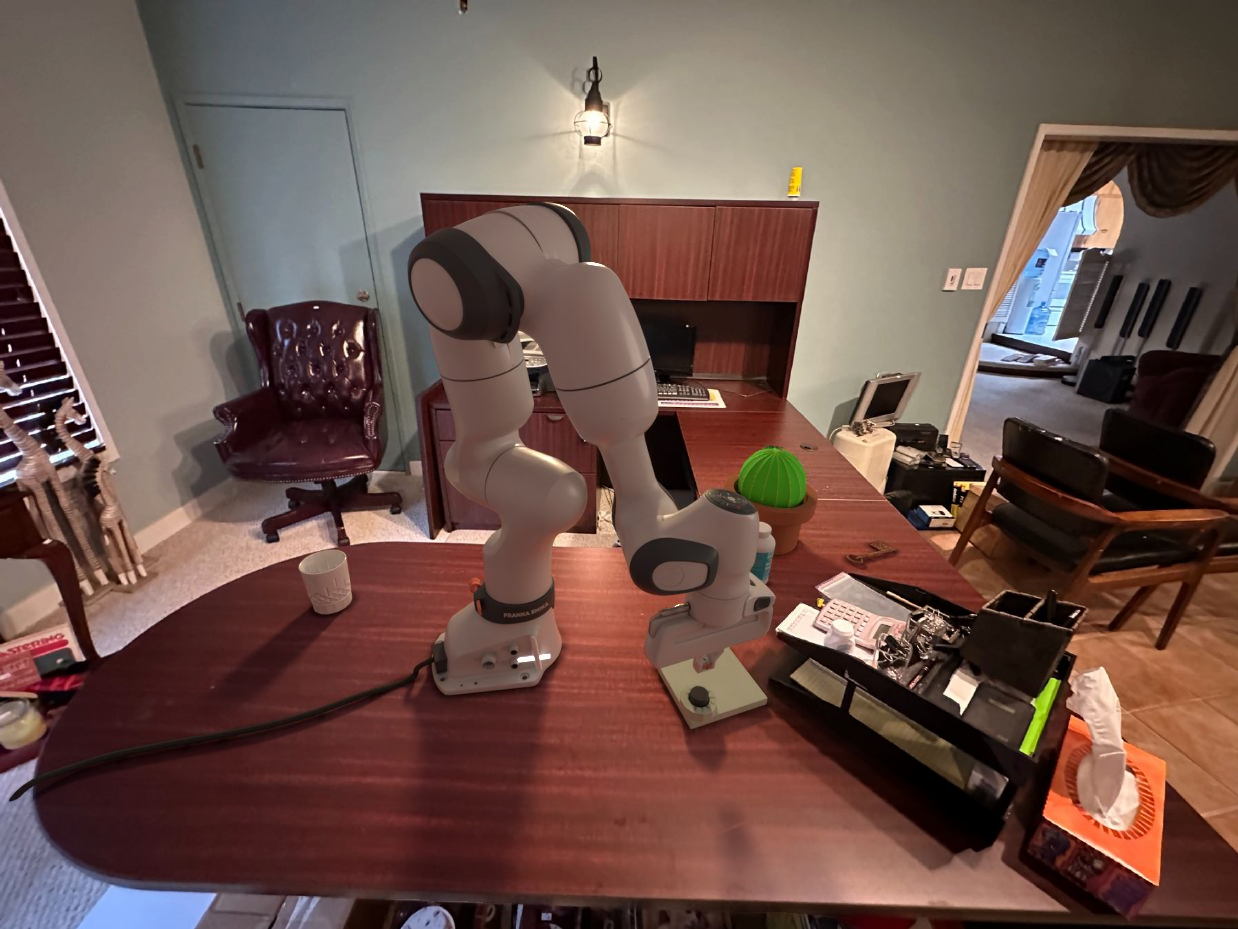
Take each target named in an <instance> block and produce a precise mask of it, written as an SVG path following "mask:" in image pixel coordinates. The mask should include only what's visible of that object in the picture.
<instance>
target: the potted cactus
mask: <svg viewBox="0 0 1238 929" xmlns="http://www.w3.org/2000/svg"><path fill="white" fill-rule="evenodd" d="M792 452H793V451H788V450H787V448H784V447H783V446H781V445H780V446H779V445H776V446H774V445H772V444H767V445H764V447H762V448H761V449H759V450H756V451H755V452H754V453H753V454H752V455H750V456H748V458H746V457H745V459H746V460H745V461H744V462H743V464H742V466H741V467H739V469H740V470H738V472H735V473H734V474H732V475H730V476H728V478H727V479H726V480H725V481H724V486H723V489H726V490H730V491H733V492H736V493H737V494H740V495H742V496H744V497H745V498H746V499H747V500H749V501H750V502H751V503H752V504H753V506H754V507H755V508H756V510H757V511H758V514H759V522H764V523H766V524H768V525H770V526H771V529H772V530H771V535H772V536H773V538H774V539H775V549H774V554H773V556H782V555H783V556H784V555H786V554H789V553H791V552H792V551H793V550H794V549H795V548H796V546H797V545H798V541H799V537H800V532H801V528H802V525H804V524H806V523H808V522H809V521H810V520H812V519H813V517H814V515H815V513H816V509H817V505H818V500H819V499H818V498H819V497H818V494H817V492H816V491H815V489H814V488H813V487H811V486H810V485H809V484H807V482H808V481H809V480H808V479H807V475H808V472H806V470H805V468H804V465H803V461H801V462H800V460H799V459H798V455H794V454H793V453H792Z"/></svg>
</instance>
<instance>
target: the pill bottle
mask: <svg viewBox="0 0 1238 929" xmlns="http://www.w3.org/2000/svg"><path fill="white" fill-rule="evenodd" d="M771 530H772V529H771V526H770V525H768V524H766V523H764V522H759V539H758V547H757V553H756V558H755V562H754V565H753V567H752V568H751V570H750V572H751V573H752V574H753V575H755V576H756V577H757V578H758V579H759V580H761V581H762V582H763V583H764V584H765V585H766V584H767V583H768V581H769V578H770V573H771V569H772V563H773V558H774V555H773V554H774V549H775V539H774V538H773V536H772V535H771Z"/></svg>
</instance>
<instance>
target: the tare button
mask: <svg viewBox="0 0 1238 929" xmlns="http://www.w3.org/2000/svg"><path fill="white" fill-rule="evenodd" d="M708 697H709V693H708V691H707V690H706V689H705V688H704V687H702V686H695V687H693V688H692V689H691V693H690V702H691V703H692V705H694V706H695V707H700V708H702V707H705V706H706V705H707V703H708Z"/></svg>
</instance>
